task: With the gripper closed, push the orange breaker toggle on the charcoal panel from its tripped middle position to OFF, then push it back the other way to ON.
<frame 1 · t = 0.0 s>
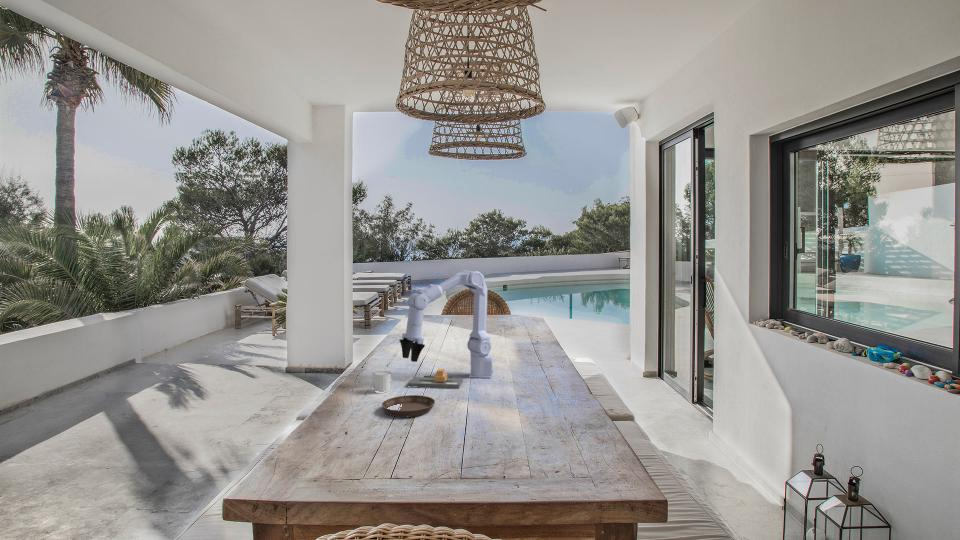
hand: (409, 359, 226), 11 cm above the table, tool pointing down, fingers open, 7 cm apart
cord bundle: (438, 378, 239), on the table
breaker panel: (435, 384, 230), on the table
shot glass: (382, 391, 221), on the table
breaker toggle: (440, 375, 229), point 4 cm above the table, slide at 5.0 cm
plant saucer: (408, 411, 197), on the table
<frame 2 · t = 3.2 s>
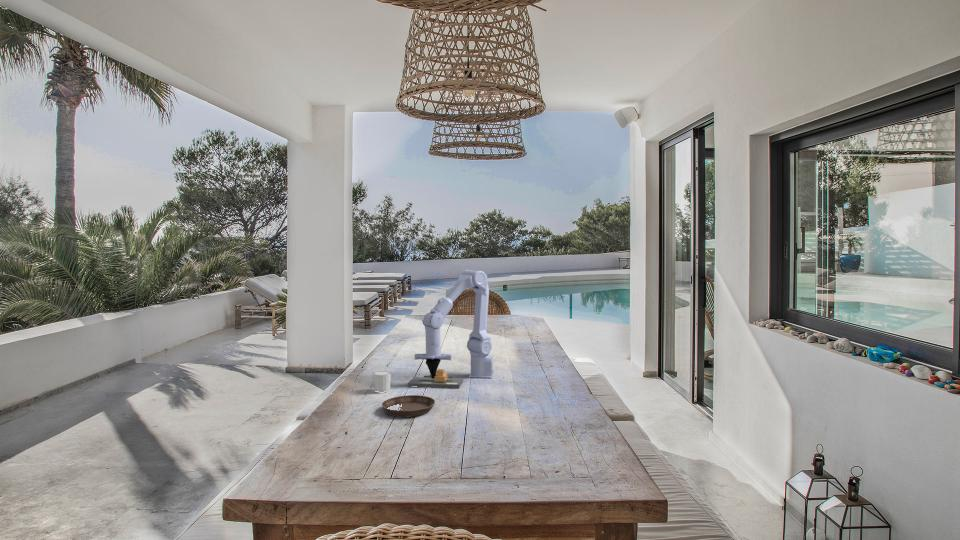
hand: (433, 377, 230), 3 cm above the table, tool pointing down, fingers closed
breaker toggle: (440, 375, 229), point 4 cm above the table, slide at 5.0 cm, touching gripper
everything else where it was.
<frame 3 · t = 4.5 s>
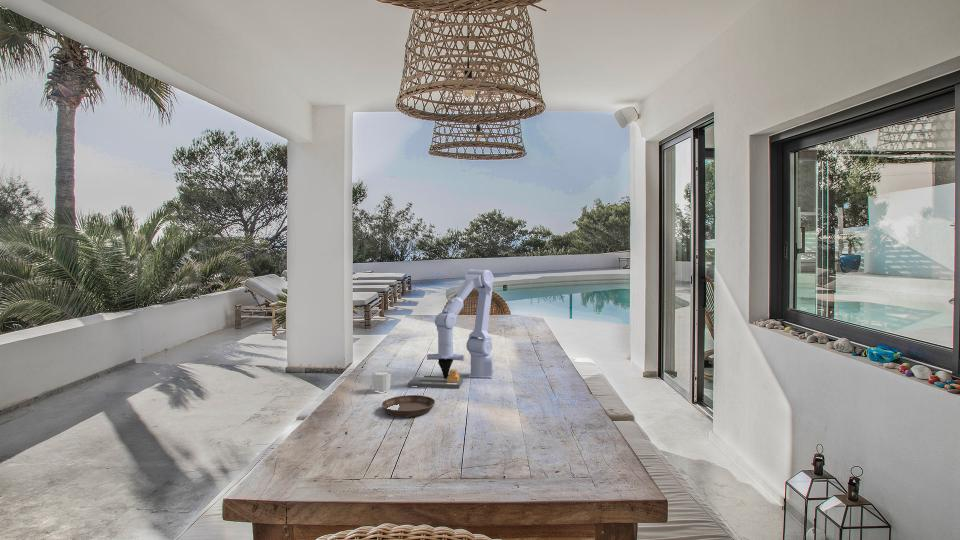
hand: (445, 378, 229), 3 cm above the table, tool pointing down, fingers closed
breaker toggle: (453, 375, 229), point 4 cm above the table, slide at 0.0 cm, touching gripper
everything else where it was.
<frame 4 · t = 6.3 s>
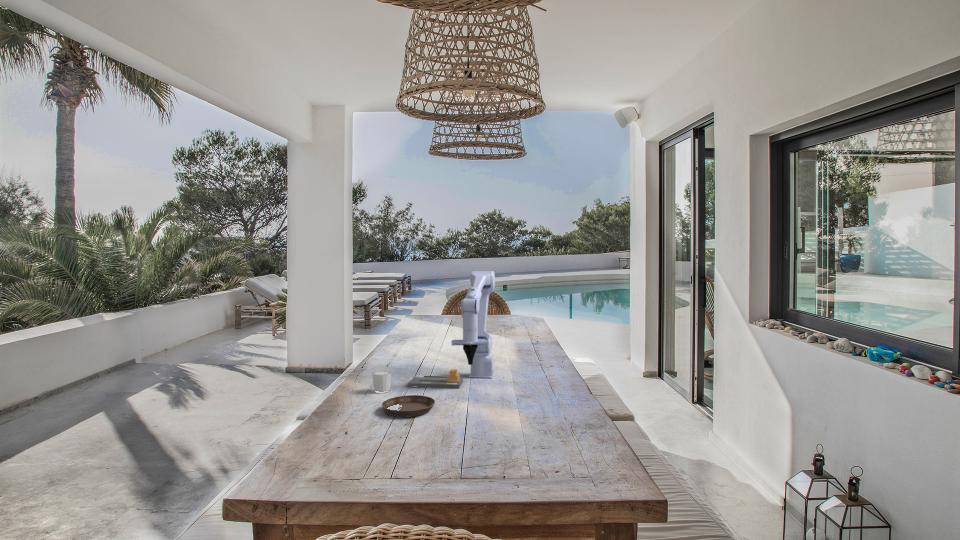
hand: (470, 364, 228), 8 cm above the table, tool pointing down, fingers closed
breaker toggle: (453, 375, 229), point 4 cm above the table, slide at 0.0 cm
everything else where it was.
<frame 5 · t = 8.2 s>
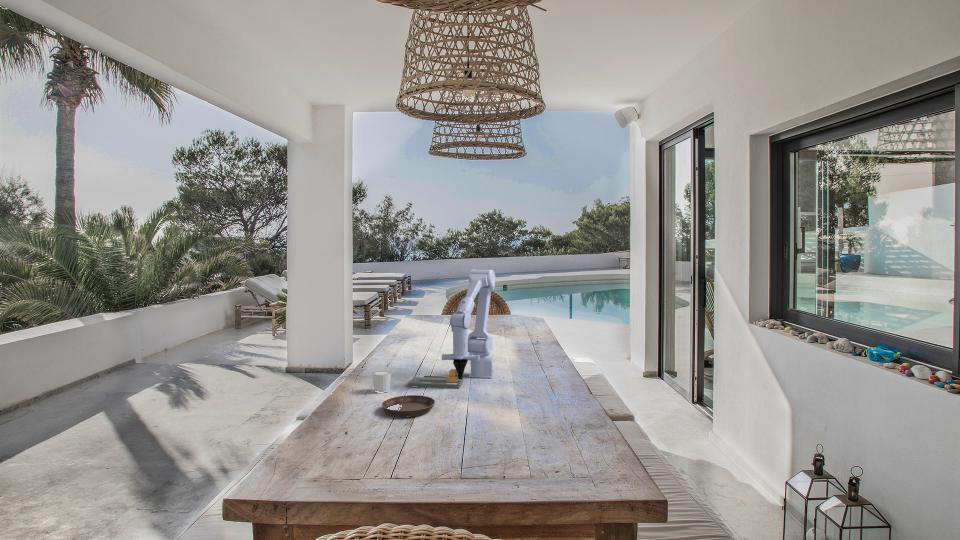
hand: (460, 378, 228), 3 cm above the table, tool pointing down, fingers closed
breaker toggle: (453, 375, 229), point 4 cm above the table, slide at 0.1 cm, touching gripper
everything else where it was.
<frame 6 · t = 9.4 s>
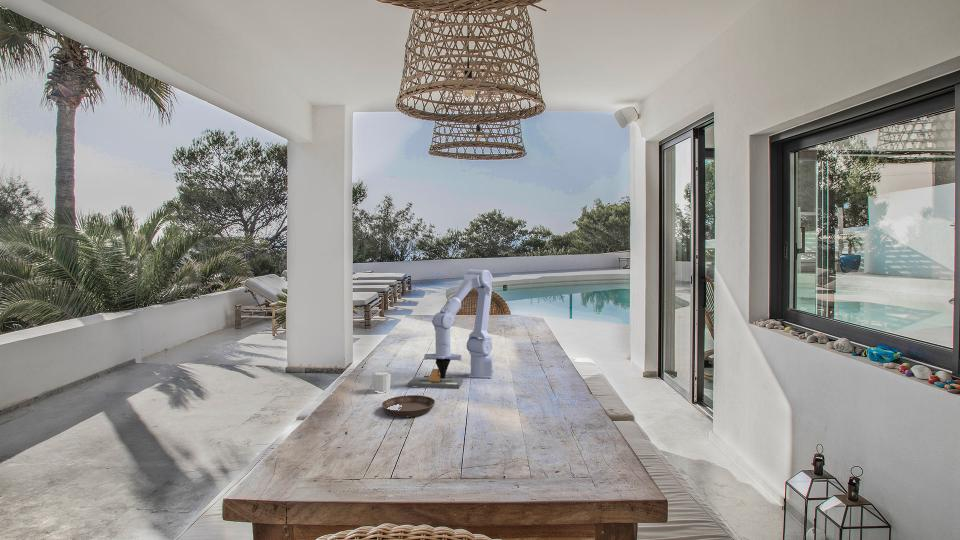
hand: (443, 378, 229), 3 cm above the table, tool pointing down, fingers closed
breaker toggle: (435, 374, 230), point 4 cm above the table, slide at 7.0 cm, touching gripper
everything else where it was.
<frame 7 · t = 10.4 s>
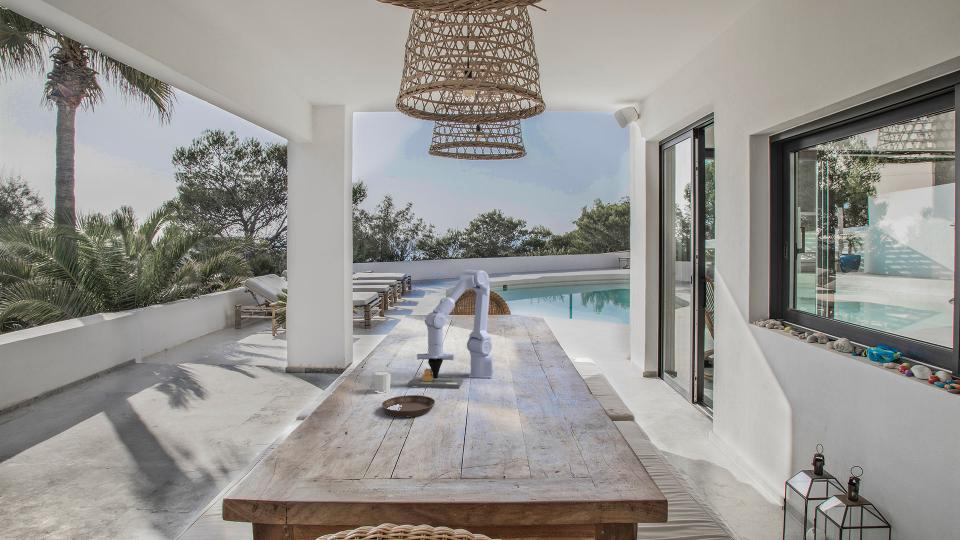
hand: (435, 377, 230), 3 cm above the table, tool pointing down, fingers closed
breaker toggle: (428, 374, 230), point 4 cm above the table, slide at 10.0 cm, touching gripper
everything else where it was.
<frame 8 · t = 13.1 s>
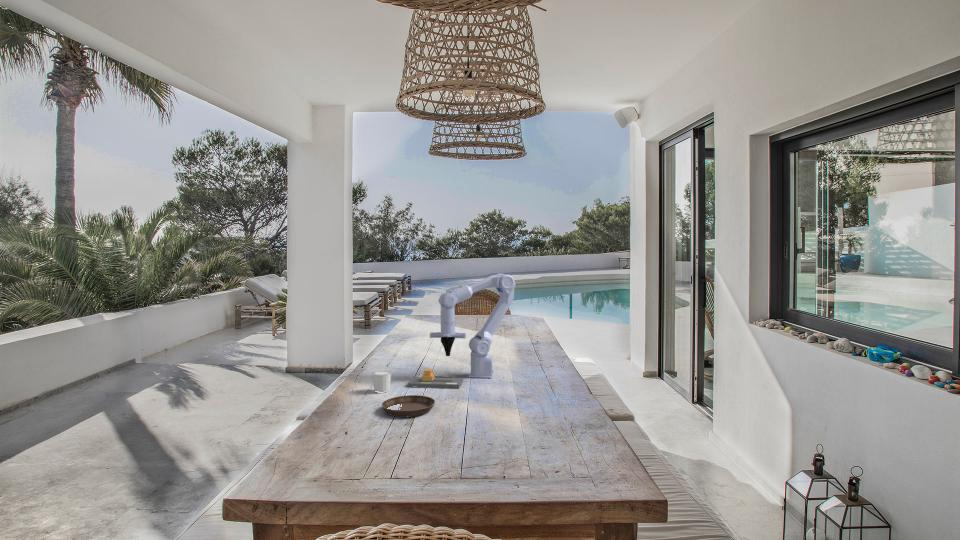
hand: (448, 355, 239), 9 cm above the table, tool pointing down, fingers closed
breaker toggle: (428, 374, 230), point 4 cm above the table, slide at 10.0 cm
everything else where it was.
at the end: breaker toggle slide at 10.0 cm; shot glass moved 0.2 cm from its start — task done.
